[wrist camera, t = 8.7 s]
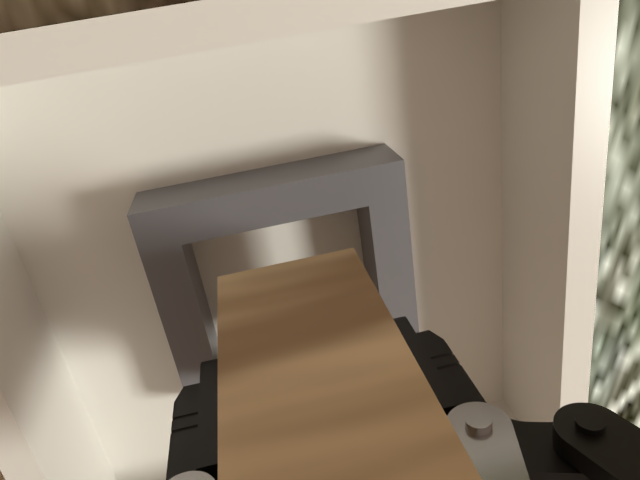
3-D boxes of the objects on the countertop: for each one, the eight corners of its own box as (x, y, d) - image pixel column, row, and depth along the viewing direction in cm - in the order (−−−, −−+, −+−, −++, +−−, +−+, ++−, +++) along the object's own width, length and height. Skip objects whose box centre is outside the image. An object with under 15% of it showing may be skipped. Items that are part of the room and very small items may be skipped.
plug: (217, 276, 15) (217, 582, 7) (353, 247, 16) (497, 507, 8) (246, 386, 17) (273, 733, 9) (369, 357, 18) (500, 666, 9)
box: (-92, 49, 15) (-222, 69, 11) (515, -52, 17) (624, -70, 12) (109, 497, 23) (83, 620, 18) (514, 397, 24) (581, 486, 20)
